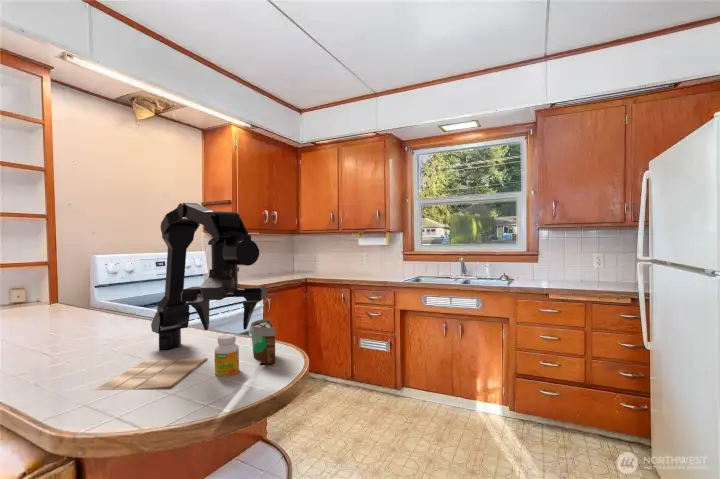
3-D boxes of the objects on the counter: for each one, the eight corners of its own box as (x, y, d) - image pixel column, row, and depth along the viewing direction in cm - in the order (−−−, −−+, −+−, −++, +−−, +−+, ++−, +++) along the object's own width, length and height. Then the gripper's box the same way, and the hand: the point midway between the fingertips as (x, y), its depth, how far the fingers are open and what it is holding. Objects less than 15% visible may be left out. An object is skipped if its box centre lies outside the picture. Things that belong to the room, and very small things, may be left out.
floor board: (145, 364, 93) (145, 360, 93) (176, 364, 93) (175, 359, 93) (94, 395, 75) (94, 389, 75) (131, 394, 75) (131, 388, 75)
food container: (248, 355, 100) (247, 319, 100) (270, 352, 102) (269, 317, 102) (250, 370, 88) (250, 330, 88) (276, 366, 90) (275, 327, 90)
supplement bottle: (213, 382, 81) (213, 340, 81) (216, 374, 86) (215, 334, 86) (238, 379, 82) (237, 338, 82) (239, 371, 88) (239, 332, 87)
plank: (177, 364, 93) (177, 359, 93) (207, 362, 93) (207, 357, 93) (133, 394, 75) (132, 388, 75) (170, 391, 75) (170, 385, 75)
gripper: (166, 267, 76) (168, 340, 76) (253, 266, 76) (254, 338, 76) (191, 263, 87) (193, 326, 87) (267, 262, 87) (268, 325, 87)
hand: (225, 329), depth 84 cm, fingers open, 9 cm apart
